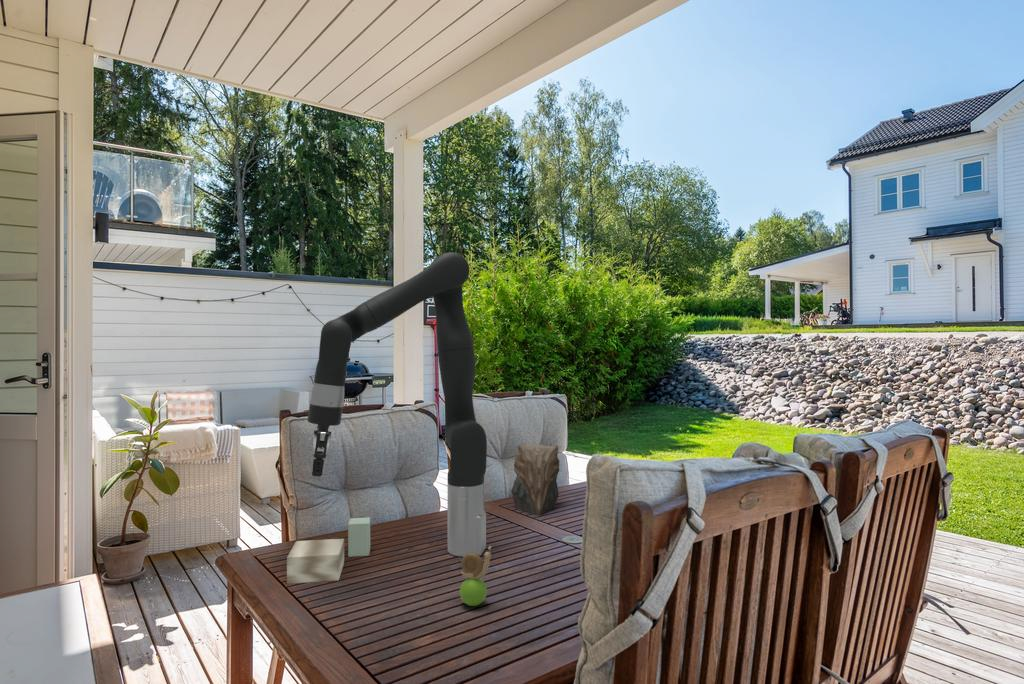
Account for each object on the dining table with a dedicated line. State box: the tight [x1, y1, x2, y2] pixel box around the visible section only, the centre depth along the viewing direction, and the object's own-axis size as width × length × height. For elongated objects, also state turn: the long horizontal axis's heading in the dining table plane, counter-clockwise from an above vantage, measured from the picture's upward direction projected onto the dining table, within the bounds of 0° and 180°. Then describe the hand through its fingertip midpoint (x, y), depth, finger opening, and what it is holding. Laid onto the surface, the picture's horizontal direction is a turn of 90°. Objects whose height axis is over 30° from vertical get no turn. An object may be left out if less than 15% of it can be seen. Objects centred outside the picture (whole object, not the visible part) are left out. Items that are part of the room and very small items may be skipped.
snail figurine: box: [459, 545, 492, 607], centre depth 121 cm, size 5×6×12 cm
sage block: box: [347, 517, 371, 558], centre depth 151 cm, size 5×5×8 cm
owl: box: [510, 443, 560, 517], centre depth 191 cm, size 13×13×20 cm
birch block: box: [286, 538, 345, 585], centre depth 138 cm, size 11×11×6 cm
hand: (317, 472), depth 141 cm, fingers open, 8 cm apart
